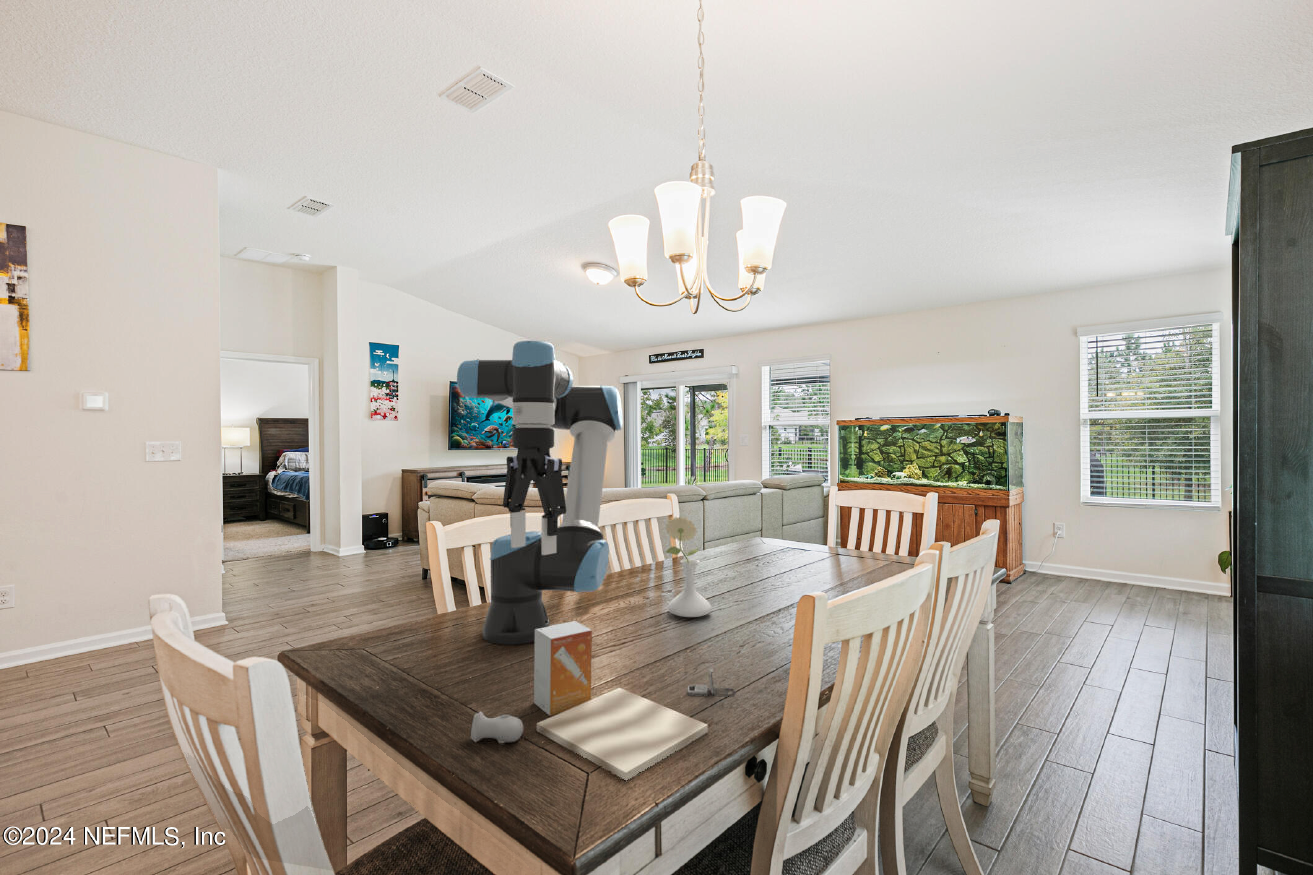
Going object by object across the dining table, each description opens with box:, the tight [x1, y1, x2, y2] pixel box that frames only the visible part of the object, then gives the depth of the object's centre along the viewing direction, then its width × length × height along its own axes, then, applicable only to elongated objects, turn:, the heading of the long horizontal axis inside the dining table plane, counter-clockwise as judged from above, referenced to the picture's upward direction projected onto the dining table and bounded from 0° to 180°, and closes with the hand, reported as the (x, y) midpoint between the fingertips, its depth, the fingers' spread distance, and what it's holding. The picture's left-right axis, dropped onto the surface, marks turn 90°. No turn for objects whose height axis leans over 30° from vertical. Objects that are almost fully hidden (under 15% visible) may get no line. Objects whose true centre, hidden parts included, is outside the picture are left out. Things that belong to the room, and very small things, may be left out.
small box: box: [533, 620, 593, 717], centre depth 104 cm, size 8×6×13 cm
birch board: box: [536, 687, 709, 781], centre depth 94 cm, size 20×18×1 cm
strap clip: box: [687, 668, 736, 697], centre depth 109 cm, size 8×3×4 cm, turn 87°
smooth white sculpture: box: [470, 711, 524, 744], centre depth 92 cm, size 4×8×5 cm
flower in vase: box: [665, 516, 713, 618], centre depth 155 cm, size 13×11×25 cm
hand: (533, 549), depth 110 cm, fingers open, 9 cm apart
